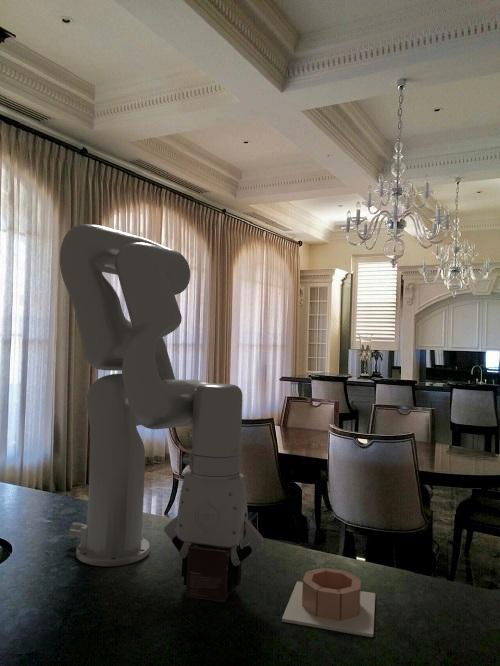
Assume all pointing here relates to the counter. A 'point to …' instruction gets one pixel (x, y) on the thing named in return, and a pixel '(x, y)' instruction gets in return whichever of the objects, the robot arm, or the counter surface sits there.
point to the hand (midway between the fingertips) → (210, 584)
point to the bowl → (331, 593)
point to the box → (207, 572)
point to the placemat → (353, 625)
